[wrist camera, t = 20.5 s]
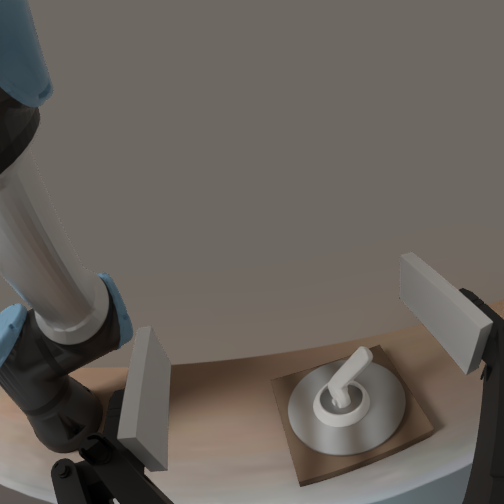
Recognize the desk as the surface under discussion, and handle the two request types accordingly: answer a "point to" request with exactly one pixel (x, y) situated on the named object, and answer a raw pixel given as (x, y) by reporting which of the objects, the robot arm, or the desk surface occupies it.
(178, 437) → the desk surface
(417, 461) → the desk surface
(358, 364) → the white vr controller
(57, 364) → the robot arm
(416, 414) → the rosette stand
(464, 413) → the desk surface
